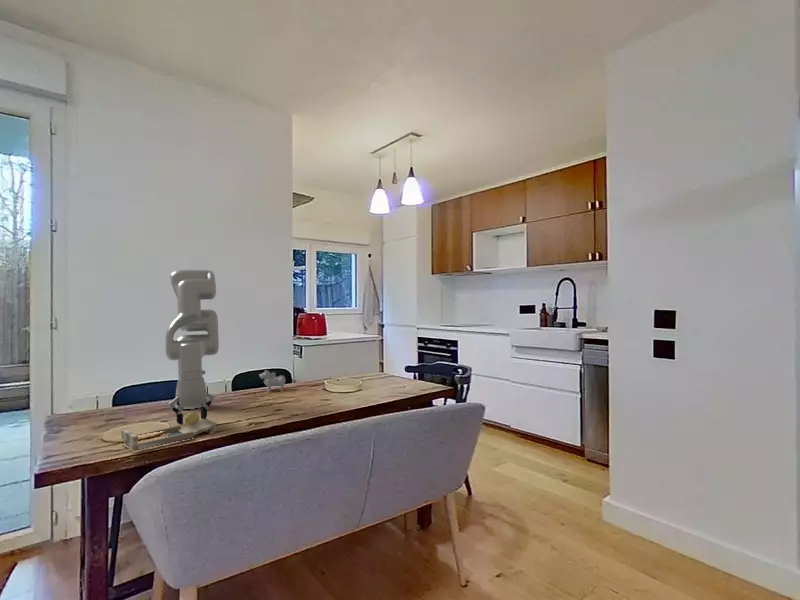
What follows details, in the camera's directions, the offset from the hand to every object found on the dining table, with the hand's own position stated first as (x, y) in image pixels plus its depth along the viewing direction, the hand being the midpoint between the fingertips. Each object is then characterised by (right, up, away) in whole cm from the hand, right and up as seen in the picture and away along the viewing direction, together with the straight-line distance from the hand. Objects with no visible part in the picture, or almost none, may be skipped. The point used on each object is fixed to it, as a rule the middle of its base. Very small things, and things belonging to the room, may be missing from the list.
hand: (192, 421), depth 175 cm
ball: (0, +1, 0) cm, 1 cm away
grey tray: (-3, -2, -19) cm, 19 cm away
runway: (-3, -2, -19) cm, 19 cm away
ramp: (+6, -2, -10) cm, 12 cm away
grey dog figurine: (+14, 0, +60) cm, 62 cm away
